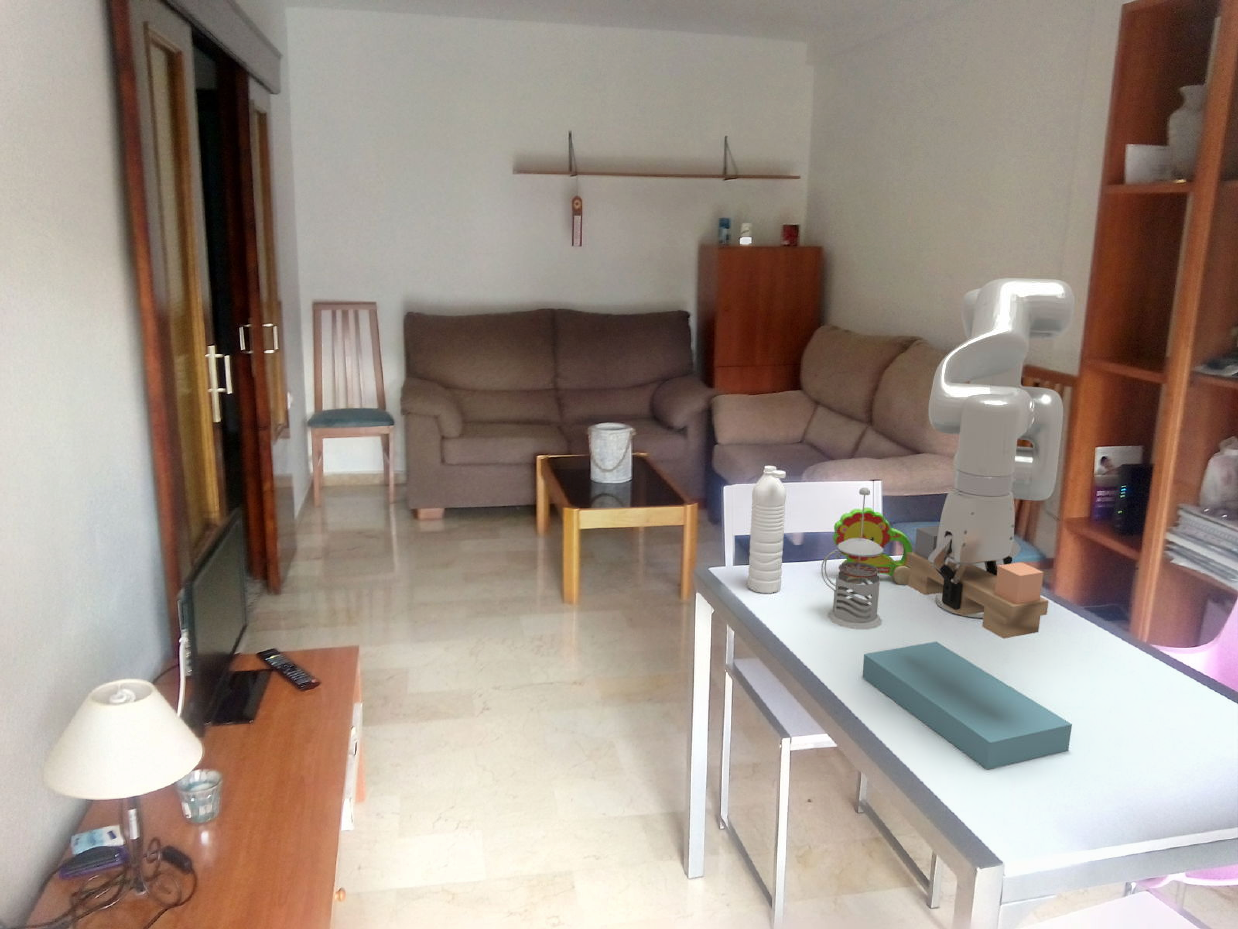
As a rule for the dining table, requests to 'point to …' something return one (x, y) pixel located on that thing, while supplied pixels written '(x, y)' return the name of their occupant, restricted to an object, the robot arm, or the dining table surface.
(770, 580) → the water bottle
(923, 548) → the block
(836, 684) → the dining table surface
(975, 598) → the pallet
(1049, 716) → the block
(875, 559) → the toy lion
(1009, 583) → the pink cube
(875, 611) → the french press
